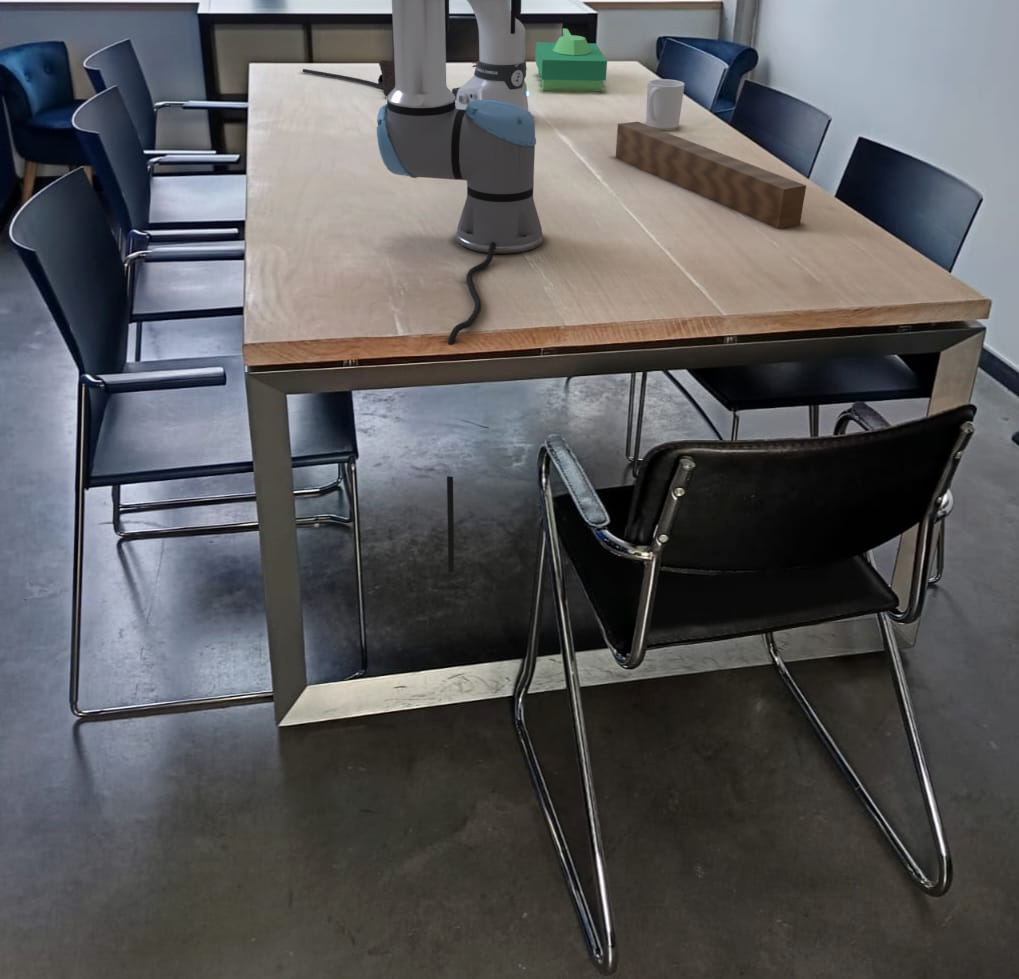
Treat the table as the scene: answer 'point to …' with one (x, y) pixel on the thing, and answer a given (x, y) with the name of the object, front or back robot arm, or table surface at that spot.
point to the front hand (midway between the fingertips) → (479, 32)
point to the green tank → (570, 64)
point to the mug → (664, 103)
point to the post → (712, 174)
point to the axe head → (387, 76)
